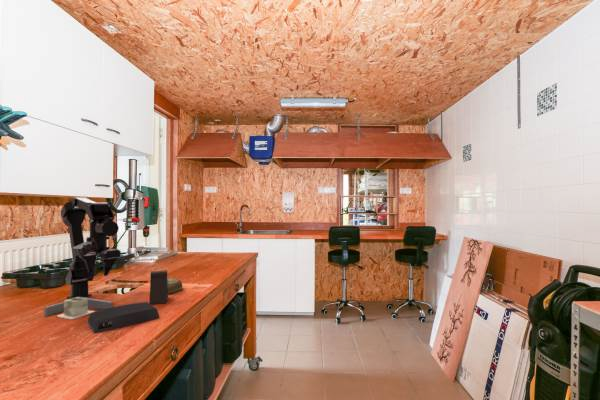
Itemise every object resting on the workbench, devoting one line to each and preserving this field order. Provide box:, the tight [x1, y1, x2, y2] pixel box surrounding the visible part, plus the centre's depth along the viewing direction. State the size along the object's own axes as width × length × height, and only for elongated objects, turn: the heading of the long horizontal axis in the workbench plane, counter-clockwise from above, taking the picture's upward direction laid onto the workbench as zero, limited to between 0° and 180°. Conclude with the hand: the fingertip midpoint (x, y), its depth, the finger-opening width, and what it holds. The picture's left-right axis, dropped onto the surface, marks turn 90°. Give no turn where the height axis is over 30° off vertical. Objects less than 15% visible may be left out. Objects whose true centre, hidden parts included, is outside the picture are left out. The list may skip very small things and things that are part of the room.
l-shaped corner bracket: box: [43, 297, 114, 321], centre depth 115 cm, size 17×13×3 cm
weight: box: [167, 277, 183, 294], centre depth 145 cm, size 14×14×5 cm
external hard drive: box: [86, 301, 160, 334], centre depth 108 cm, size 13×19×4 cm
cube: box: [63, 297, 89, 317], centre depth 114 cm, size 5×5×5 cm
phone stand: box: [148, 270, 169, 306], centre depth 129 cm, size 9×6×12 cm, turn 17°
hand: (97, 274), depth 125 cm, fingers open, 9 cm apart
